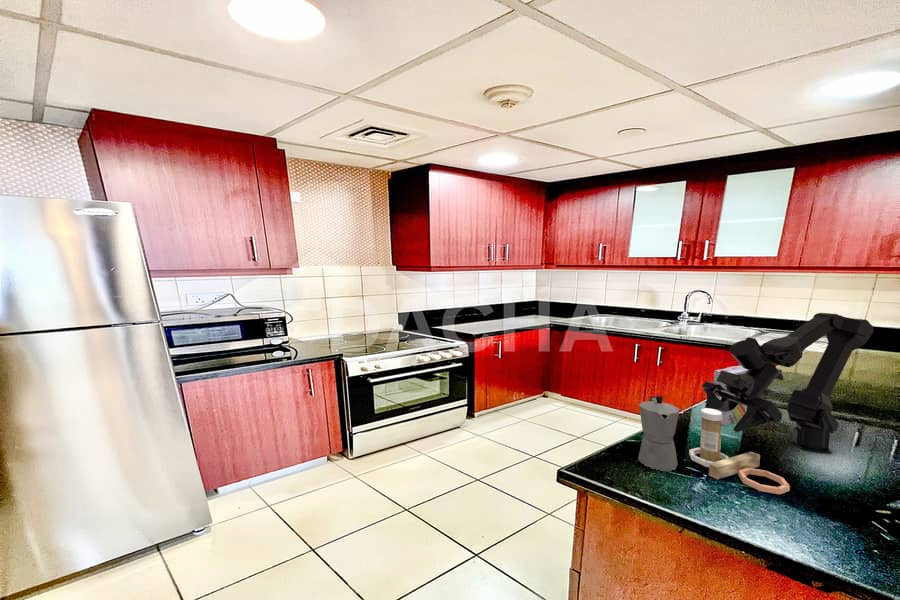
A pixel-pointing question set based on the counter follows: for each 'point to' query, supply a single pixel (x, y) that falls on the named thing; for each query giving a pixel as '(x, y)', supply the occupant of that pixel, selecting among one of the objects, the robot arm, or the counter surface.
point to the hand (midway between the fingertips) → (718, 423)
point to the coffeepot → (658, 434)
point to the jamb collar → (702, 461)
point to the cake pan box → (730, 409)
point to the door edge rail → (733, 465)
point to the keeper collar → (764, 488)
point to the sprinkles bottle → (710, 434)
